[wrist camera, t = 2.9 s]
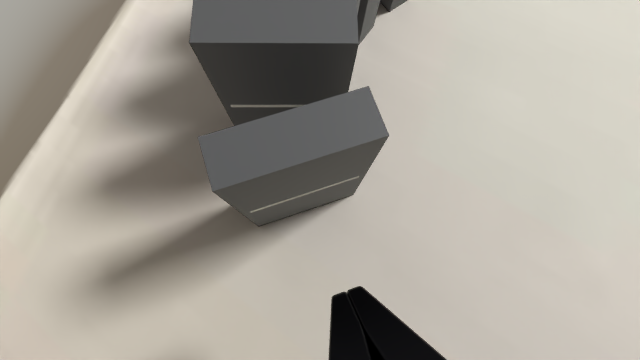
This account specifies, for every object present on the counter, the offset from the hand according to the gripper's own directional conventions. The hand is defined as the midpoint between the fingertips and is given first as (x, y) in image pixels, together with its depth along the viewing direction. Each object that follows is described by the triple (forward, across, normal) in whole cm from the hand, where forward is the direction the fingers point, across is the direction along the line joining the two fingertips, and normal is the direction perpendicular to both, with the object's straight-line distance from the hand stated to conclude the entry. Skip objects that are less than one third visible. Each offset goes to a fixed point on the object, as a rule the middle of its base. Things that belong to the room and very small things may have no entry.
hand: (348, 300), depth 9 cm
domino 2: (+8, 0, +2) cm, 8 cm away
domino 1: (+11, -1, -1) cm, 11 cm away
